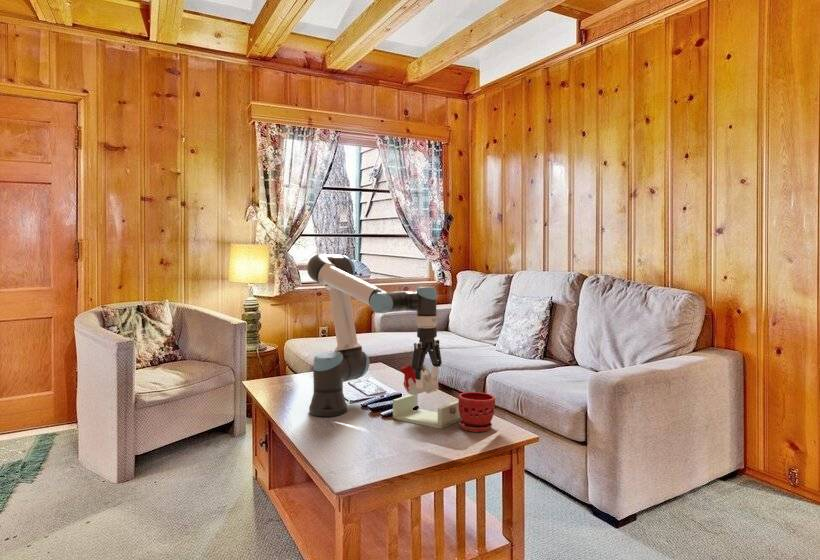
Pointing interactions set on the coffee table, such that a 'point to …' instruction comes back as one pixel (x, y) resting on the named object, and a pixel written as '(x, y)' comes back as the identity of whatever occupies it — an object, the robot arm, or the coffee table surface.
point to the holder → (425, 413)
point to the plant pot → (476, 411)
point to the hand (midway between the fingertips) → (427, 385)
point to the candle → (410, 381)
